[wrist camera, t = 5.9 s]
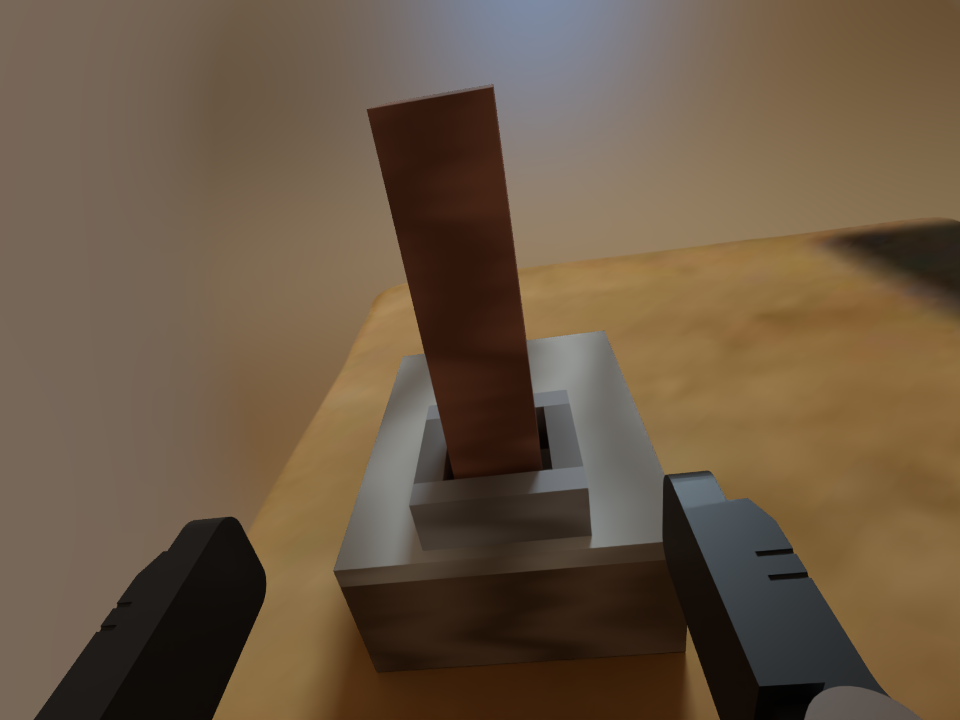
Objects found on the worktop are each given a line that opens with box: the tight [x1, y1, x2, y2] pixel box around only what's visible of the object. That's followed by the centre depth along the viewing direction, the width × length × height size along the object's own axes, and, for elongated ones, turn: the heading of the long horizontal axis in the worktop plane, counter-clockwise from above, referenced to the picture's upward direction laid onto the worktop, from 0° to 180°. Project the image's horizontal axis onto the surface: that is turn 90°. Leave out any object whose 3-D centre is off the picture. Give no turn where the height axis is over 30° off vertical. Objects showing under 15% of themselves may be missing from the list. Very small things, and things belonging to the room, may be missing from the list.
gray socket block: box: [333, 331, 687, 672], centre depth 29 cm, size 14×18×10 cm
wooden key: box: [367, 84, 543, 480], centre depth 20 cm, size 4×4×16 cm
